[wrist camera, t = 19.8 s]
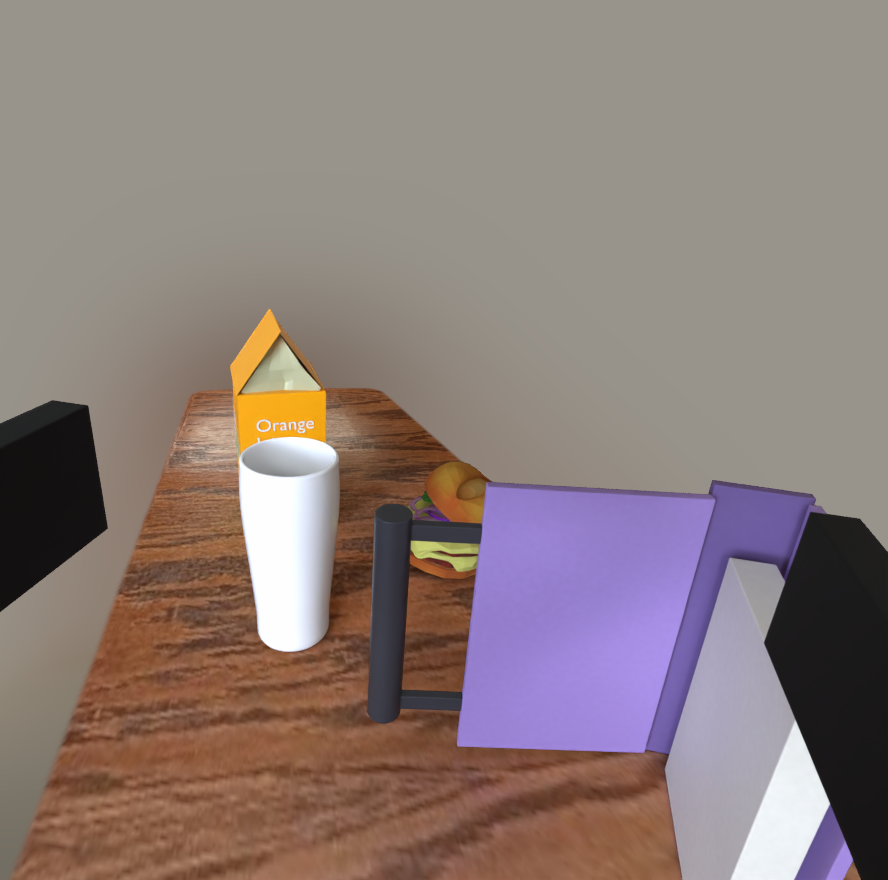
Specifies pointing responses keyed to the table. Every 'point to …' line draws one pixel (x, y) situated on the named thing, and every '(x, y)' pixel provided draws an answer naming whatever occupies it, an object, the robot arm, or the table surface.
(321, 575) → the drinking glass
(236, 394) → the orange juice
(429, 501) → the cheeseburger
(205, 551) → the table surface
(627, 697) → the folder cover
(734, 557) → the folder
